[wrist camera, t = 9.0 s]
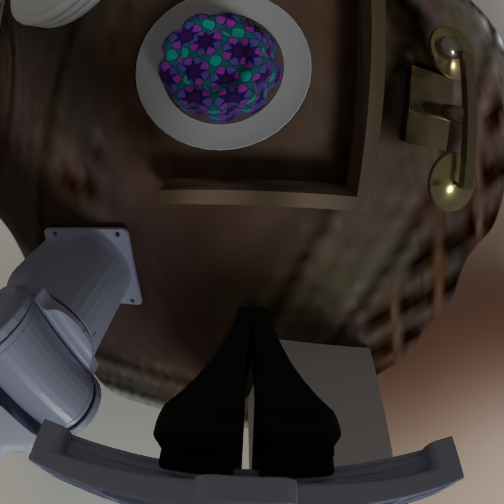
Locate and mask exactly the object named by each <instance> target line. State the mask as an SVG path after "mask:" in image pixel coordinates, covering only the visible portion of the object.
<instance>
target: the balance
mask: <svg viewBox="0 0 504 504" xmlns="http://www.w3.org/2000/svg"><path fill="white" fill-rule="evenodd" d="M429 50H430V54H431V57H432V59H433V61H434V63H435V65H436V66H437V68H438V69H439V70H440V71H441V72H442V73H443V74H444V75H445V76H447V77H448V78H447V77H445V76H442V75H439V74H437V73H434V72H431V71H428V70H425V69H422V68H419V67H416V66H413V65H409V66H407V70H406V88H405V101H404V112H403V122H402V130H401V138H400V140H401V141H404V142H407V143H412V144H417V145H422V146H426V147H430V148H435V149H439V150H443V151H446V147H447V140H448V133H449V125H450V122H454V123H457V124H461V125H462V145H461V154H460V153H457V152H448V153H445V154H443V155H442V156H440V157H439V158H438V159H437V160H436V162H435V163H434V165H433V166H432V168H431V171H430V174H429V179H428V190H429V194H430V197H431V199H432V201H433V202H434V203H435V204H436V205H437V206H438V207H439V208H440V209H442V210H444V211H448V212H452V211H457V210H459V209H461V208H462V207H463V206H465V205H466V204H467V202H468V201H469V200H470V198H471V196H472V194H473V192H474V188H475V182H476V175H475V170H474V168H475V155H476V133H477V106H476V84H475V72H474V70H475V64H476V61H475V54H474V51H473V48H472V46H471V44H470V42H469V41H468V39H467V38H466V37H465V36H464V34H462V33H461V32H460V31H459V30H457V29H456V28H453V27H450V26H441V27H438V28H436V29H434V30H433V31H432V33H431V35H430V38H429ZM452 79H453V80H460V81H461V87H462V107H461V106H455V105H452V95H453V80H452Z"/></svg>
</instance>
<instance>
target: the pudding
mask: <svg viewBox="0 0 504 504" xmlns="http://www.w3.org/2000/svg"><path fill="white" fill-rule="evenodd" d="M214 14H216V15H214ZM211 15H214V16H211ZM240 15H242V16H245V17H248V18H251V19H253V20H255V21H257V22H258V23H260V24H262V25H263V26H264V27H265V28H267V29H268V30H269V31H270V32H271V33H272V35H273V36H274V37H275V38H276V40H277V42H278V44H279V46H280V48H281V51H282V54H283V57H284V75H283V80H282V83H281V86H280V88H279V90H278V92H277V94H276V96H275V97H274V98H273V100H272V101H271V102H270V103H269V104H268V105H267V106H266V107H265V108H264V109H263V110H262V111H260V112H259V113H257V114H256V115H254V116H253V117H250V118H248V119H246V120H244V121H240V122H237V123H233V124H224V125H218V124H208V123H204V122H200V121H197V120H195V119H192V118H190V117H189V116H187V115H186V114H184V113H182V112H181V111H180V110H179V109H178V108H177V107H176V106H175V105H174V104H173V102H172V101H171V100H170V99H169V97H168V95H167V93H166V91H165V88H164V85H165V87H166V88H167V89H168V90H170V92H171V96H172V98H173V99H174V101H175V102H176V104H177V105H178V106H179V107H180V108H181V109H182V111H183V112H185V113H187V114H190V115H192V116H194V115H200V114H204V115H205V116H206V117H207V118H208V119H209V120H210V121H211V122H217V123H225V122H229V121H232V120H233V119H234V118H235V117H236V116H237V115H238V114H239V113H244V114H253V113H255V112H257V111H259V110H260V109H261V108H262V107H263V106H264V105H265V104H266V102H267V92H268V91H269V90H271V89H272V88H274V87H276V86H278V84H279V81H280V79H281V77H282V67H281V66H280V65H279V63H278V62H277V61H276V60H275V56H276V53H277V50H278V47H277V44H276V42H275V39H274V38H273V37H272V36H271V35H270V34H269V33H267V32H265V31H263V30H261V29H259V28H257V27H254V25H253V23H252V21H250V20H248V19H246V18H244V17H242V16H240ZM311 70H312V67H311V54H310V51H309V47H308V44H307V41H306V39H305V37H304V35H303V33H302V31H301V29H300V27H299V26H298V25H297V23H296V22H295V21H294V20H293V18H292V17H291V16H290V15H289V14H287V13H286V12H285V11H284V10H283V9H282V8H280V7H279V6H277V5H276V4H274V3H272V2H271V1H269V0H185V1H183V2H181V3H179V4H177V5H176V6H174V7H173V8H171V9H170V10H169V11H167V12H166V13H165V14H164V15H163V16H162V17H161V18H160V19H159V20H158V21H157V22H156V23H155V24H154V25H153V26H152V28H151V29H150V31H149V32H148V34H147V35H146V37H145V39H144V41H143V43H142V45H141V47H140V51H139V54H138V58H137V63H136V84H137V90H138V93H139V97H140V100H141V102H142V104H143V106H144V108H145V110H146V112H147V114H148V115H149V116H150V117H151V119H152V120H153V121H154V123H155V124H156V125H157V126H158V127H160V128H161V129H162V130H163V131H164V132H165V133H166V134H168V135H170V136H171V137H173V138H175V139H176V140H178V141H180V142H183V143H185V144H188V145H190V146H193V147H198V148H202V149H209V150H229V149H238V148H242V147H245V146H250V145H252V144H255V143H257V142H259V141H262V140H264V139H266V138H268V137H269V136H271V135H272V134H274V133H276V132H277V131H279V130H280V129H281V128H282V127H283V126H284V125H285V124H286V123H288V122H289V121H290V119H291V118H292V117H293V116H294V114H295V113H296V112H297V111H298V109H299V108H300V106H301V104H302V102H303V100H304V98H305V97H306V94H307V90H308V87H309V84H310V78H311ZM163 84H164V85H163Z"/></svg>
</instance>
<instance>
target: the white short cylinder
mask: <svg viewBox="0 0 504 504" xmlns="http://www.w3.org/2000/svg"><path fill="white" fill-rule="evenodd" d="M99 1H100V0H11V2H10V6H11V12H12V15H13V17H14V18H15V19H16V20H17V21H18V22H20V23H21V24H23V25H27V26H35V27H43V28H55V27H59V26H63V25H66V24H68V23H71V22H73V21H75V20H76V19H78V18H80V17H81V16H83V15H84V14H86V13H87V12H88V11H90V10H91V9H92V8H93V7H94V6H95V5H96V4H97V3H98V2H99Z"/></svg>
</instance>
